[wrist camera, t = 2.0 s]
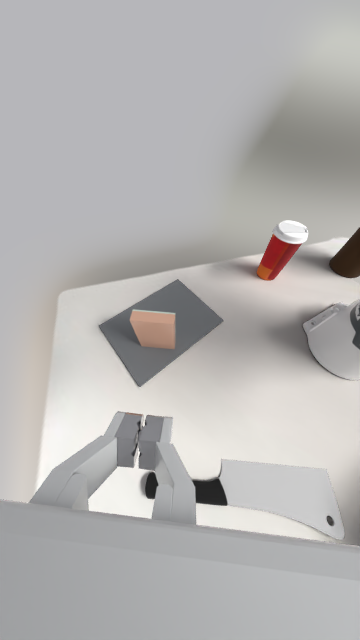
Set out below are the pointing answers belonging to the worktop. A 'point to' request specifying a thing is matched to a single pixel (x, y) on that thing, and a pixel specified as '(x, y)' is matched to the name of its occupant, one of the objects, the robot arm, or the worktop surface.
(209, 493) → the kitchen cleaver
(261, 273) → the coffee cup
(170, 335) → the tile
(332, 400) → the worktop surface
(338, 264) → the olive oil
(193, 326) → the mat
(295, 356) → the worktop surface
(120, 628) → the robot arm
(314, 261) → the worktop surface
